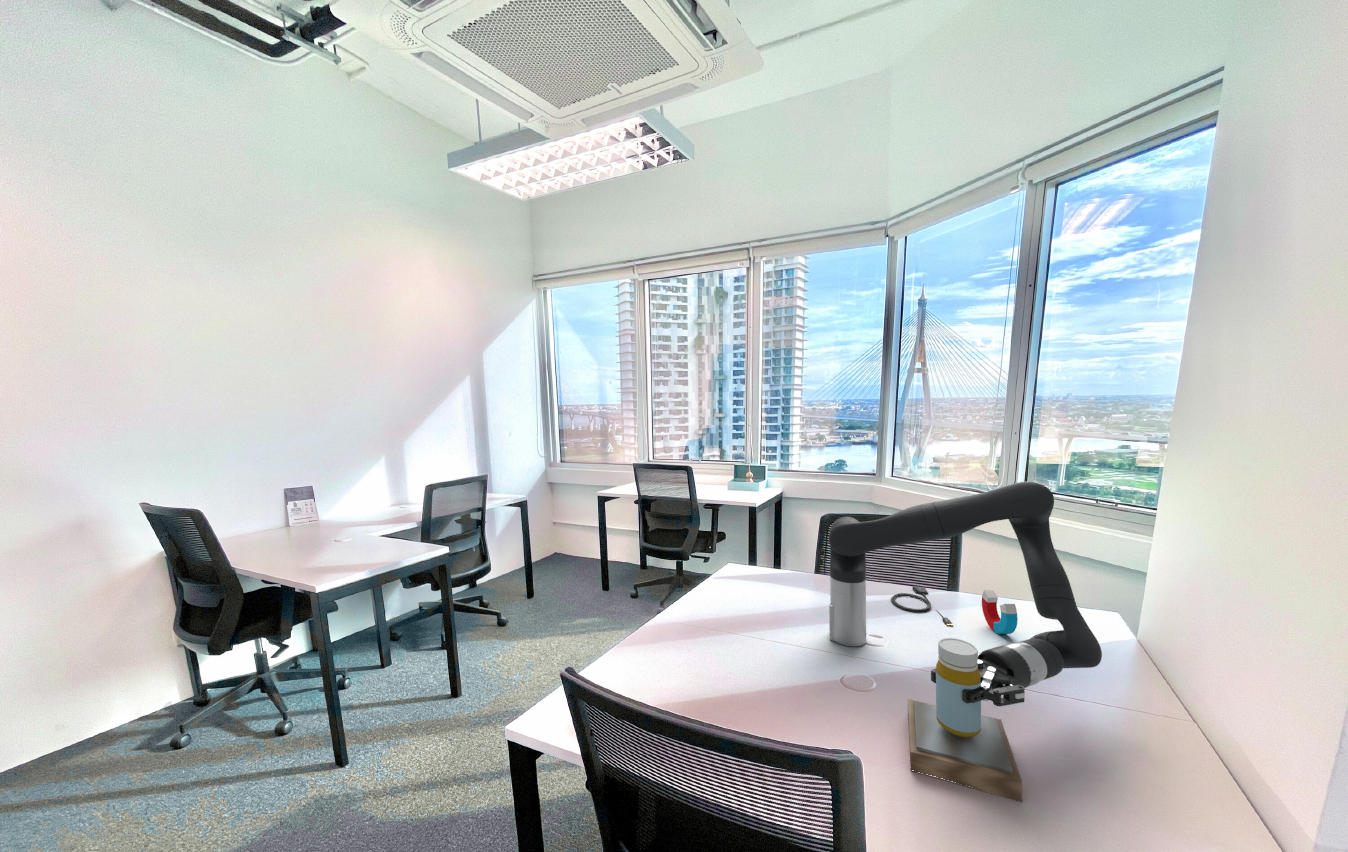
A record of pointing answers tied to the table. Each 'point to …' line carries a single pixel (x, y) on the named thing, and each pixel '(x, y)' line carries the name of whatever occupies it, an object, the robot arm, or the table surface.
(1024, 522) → the robot arm
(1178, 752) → the table surface
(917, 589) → the cable
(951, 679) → the bottle
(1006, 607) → the magnet
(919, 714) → the plinth
